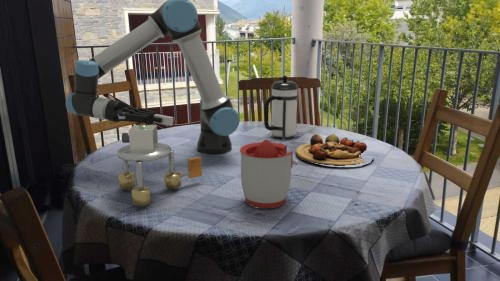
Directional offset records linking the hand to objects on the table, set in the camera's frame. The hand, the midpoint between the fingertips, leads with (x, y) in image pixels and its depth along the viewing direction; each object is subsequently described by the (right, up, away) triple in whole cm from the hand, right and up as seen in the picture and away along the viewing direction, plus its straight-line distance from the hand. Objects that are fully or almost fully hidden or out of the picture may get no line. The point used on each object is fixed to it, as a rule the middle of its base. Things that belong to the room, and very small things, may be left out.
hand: (172, 121), depth 136 cm
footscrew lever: (+4, -22, -2) cm, 22 cm away
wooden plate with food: (+61, -14, +32) cm, 71 cm away
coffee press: (+42, -5, +59) cm, 73 cm away
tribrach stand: (-7, -24, -10) cm, 27 cm away
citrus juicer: (+32, -25, -12) cm, 43 cm away
